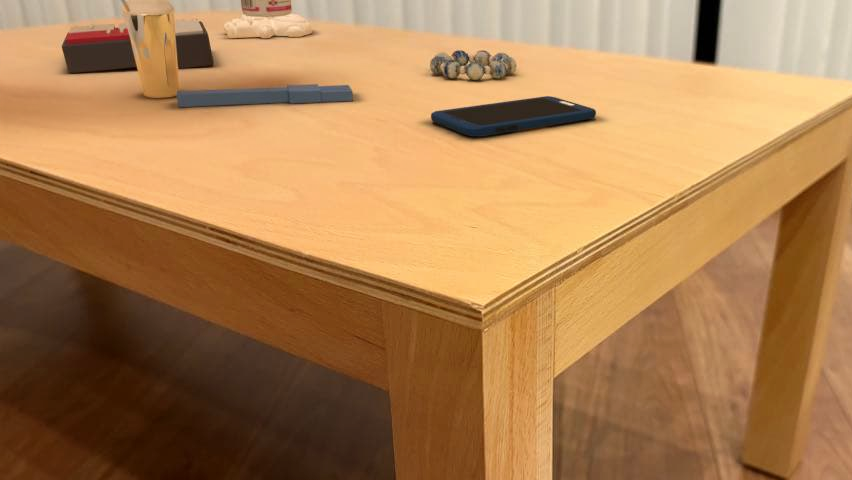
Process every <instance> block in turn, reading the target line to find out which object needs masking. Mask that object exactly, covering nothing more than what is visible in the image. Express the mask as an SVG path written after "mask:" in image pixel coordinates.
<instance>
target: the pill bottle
mask: <svg viewBox="0 0 852 480" xmlns="http://www.w3.org/2000/svg"><path fill="white" fill-rule="evenodd" d="M240 7H241V12H242V15H243V14H244V15H246V16H252V17H266V18H273V17H277V16H285V15H289V14H290V13H293V12H292V11H293V8H292V7H293V6H292V0H240Z"/></svg>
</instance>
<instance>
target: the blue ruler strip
mask: <svg viewBox="0 0 852 480" xmlns="http://www.w3.org/2000/svg"><path fill="white" fill-rule="evenodd" d="M353 92H354V91H353V90H352V88H351V87H350V85H349V84H341V85H340V84H339V85H319V84H318V83H312V84H289V85H288V84H287V85H286V86H274V87H273V86H272V87H271V86H270V87H247V88H245V87H244V88H223V89H222V88H221V89H220V88H219V89H199V90H180V91H177V95H176V96H175V97H176V102H177V108H193V107H194V108H196V107H197V108H198V107H215V106H216V107H218V106H237V105H238V106H239V105H240V106H241V105H259V104H260V105H261V104H280V103H281V104H282V103H283V104H284V103H289V104H293V105H295V104H313V103H317V104H318V103H336V102H337V103H338V102H353V101H354V94H353Z"/></svg>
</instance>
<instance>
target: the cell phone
mask: <svg viewBox="0 0 852 480" xmlns="http://www.w3.org/2000/svg"><path fill="white" fill-rule="evenodd" d="M596 114H597V111H596V109H595V108H593V107H589V106H585V105H583V104H579V103H576V102H573V101H569V100H566V99H564V98H560V97H556V96H549V95H545V96H538V97H530V98H522V99H514V100H508V101H499V102H493V103H486V104H479V105H471V106H464V107H456V108H448V109H442V110H435V111H433V112H431V113H430V119H431V121H432V122H433V123H436V124H439V125H440V126H442V127H443V126H444V127H446V128H448V129H450V130H454V131H456V132H459V133H461V134H463V135H466V136H469V137H486V136H493V135H498V134H504V133H512V132H517V131H523V130H530V129H536V128H542V127H548V126H554V125H555V126H556V125H561V124H566V123H574V122H580V121H586V120H591V119H595V118H596Z"/></svg>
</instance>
